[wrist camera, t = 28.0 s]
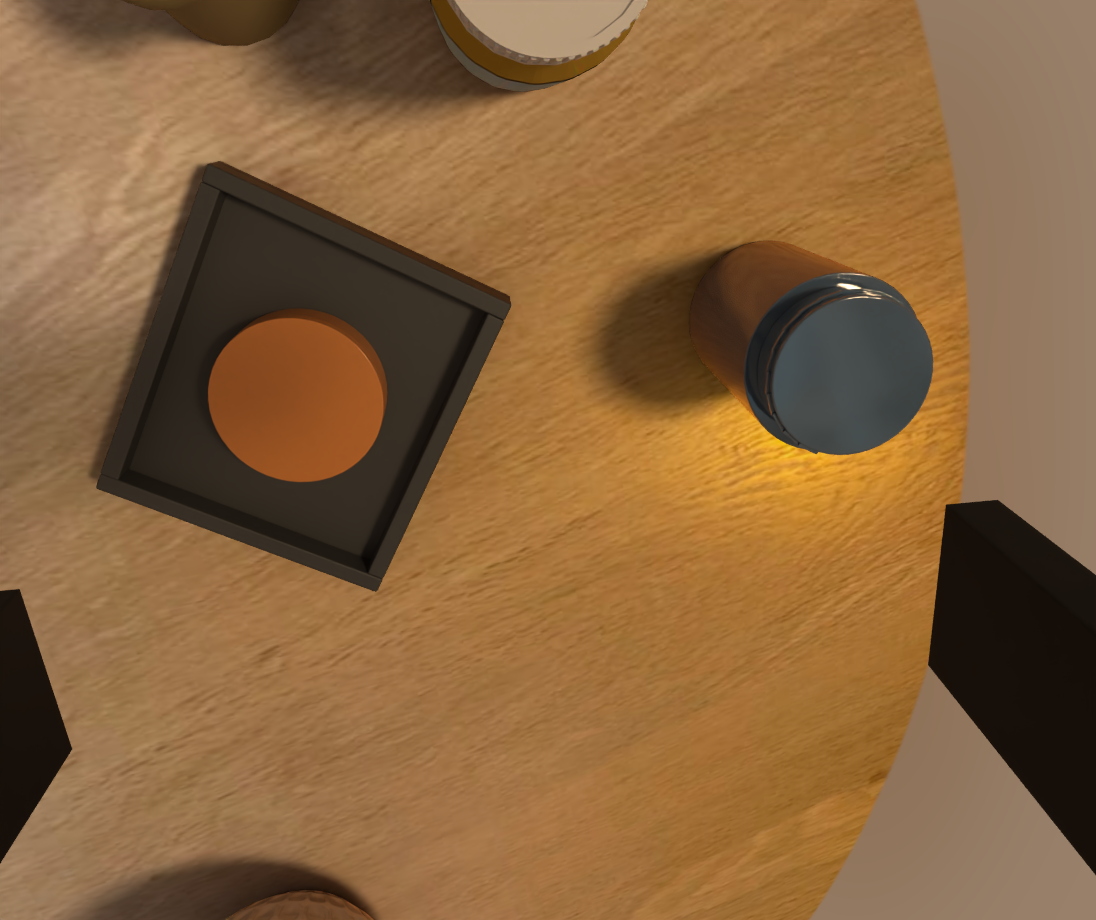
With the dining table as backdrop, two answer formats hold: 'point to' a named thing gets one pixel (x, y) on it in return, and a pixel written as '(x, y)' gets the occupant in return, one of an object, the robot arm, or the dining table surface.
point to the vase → (301, 908)
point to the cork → (226, 17)
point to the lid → (298, 395)
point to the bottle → (533, 37)
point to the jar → (811, 347)
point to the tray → (290, 283)
